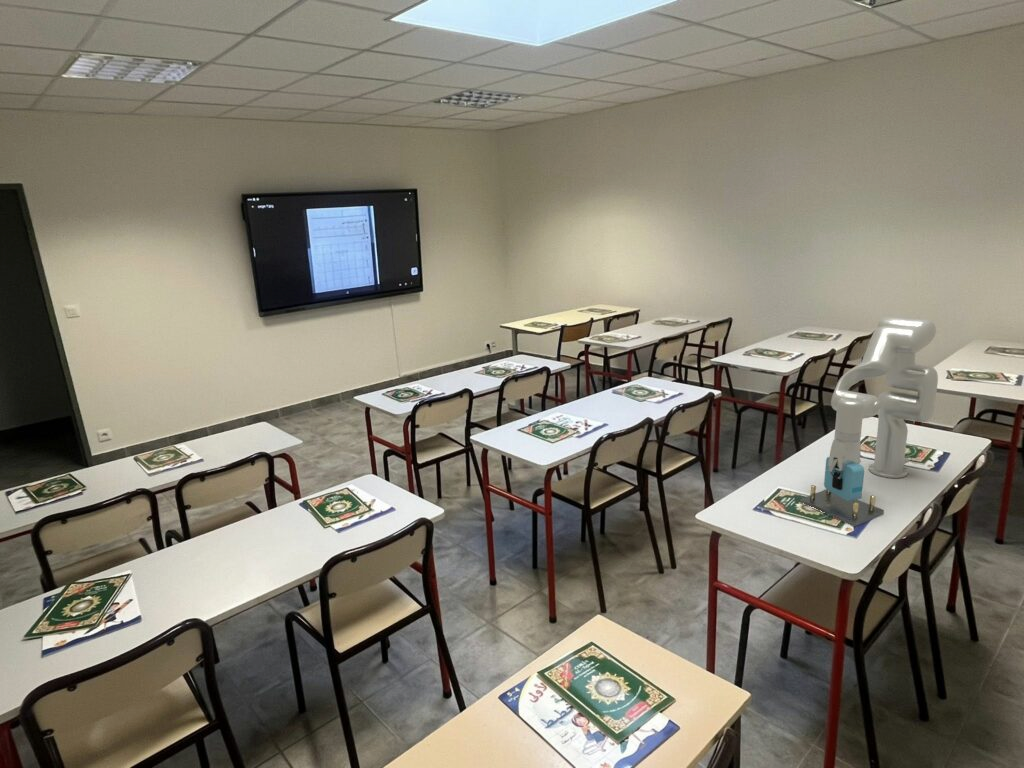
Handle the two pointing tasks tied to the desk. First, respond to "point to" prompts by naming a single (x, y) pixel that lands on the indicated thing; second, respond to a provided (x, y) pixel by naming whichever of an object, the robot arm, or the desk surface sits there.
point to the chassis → (843, 507)
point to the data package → (847, 481)
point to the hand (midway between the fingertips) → (842, 485)
